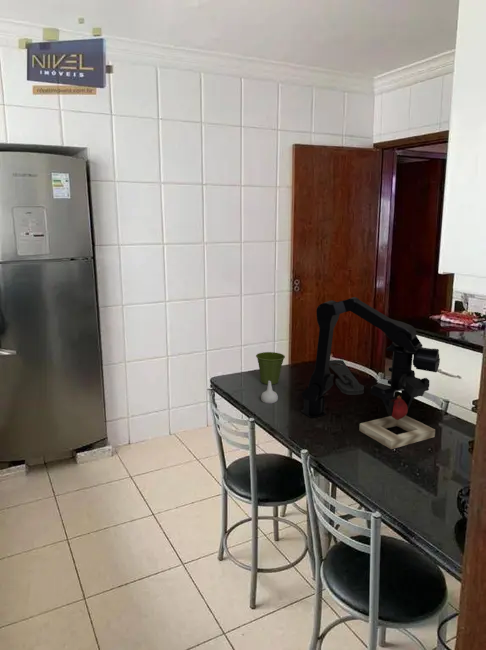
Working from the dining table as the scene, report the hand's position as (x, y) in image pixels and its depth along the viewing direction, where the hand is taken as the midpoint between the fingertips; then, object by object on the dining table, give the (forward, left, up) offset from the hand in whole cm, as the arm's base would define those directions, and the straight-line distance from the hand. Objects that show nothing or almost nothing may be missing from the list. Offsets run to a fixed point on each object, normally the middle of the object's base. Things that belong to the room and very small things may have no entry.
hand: (397, 413), depth 150 cm
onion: (0, 0, -2) cm, 2 cm away
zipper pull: (+15, +44, -7) cm, 47 cm away
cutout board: (0, 0, -7) cm, 7 cm away
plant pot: (-11, +60, -7) cm, 61 cm away
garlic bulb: (-22, +42, -7) cm, 48 cm away
